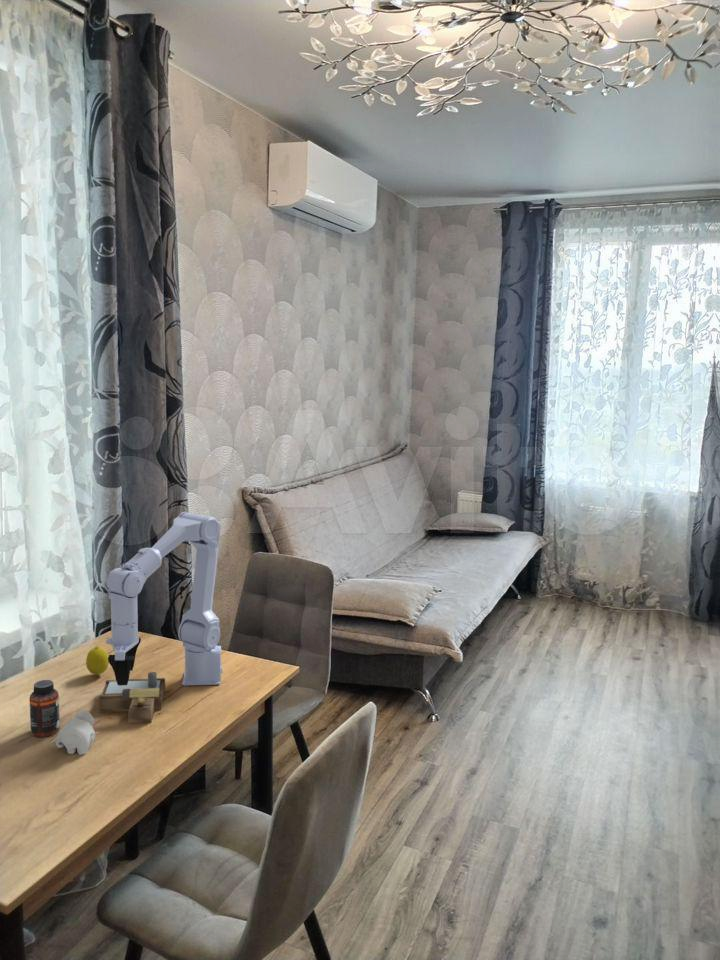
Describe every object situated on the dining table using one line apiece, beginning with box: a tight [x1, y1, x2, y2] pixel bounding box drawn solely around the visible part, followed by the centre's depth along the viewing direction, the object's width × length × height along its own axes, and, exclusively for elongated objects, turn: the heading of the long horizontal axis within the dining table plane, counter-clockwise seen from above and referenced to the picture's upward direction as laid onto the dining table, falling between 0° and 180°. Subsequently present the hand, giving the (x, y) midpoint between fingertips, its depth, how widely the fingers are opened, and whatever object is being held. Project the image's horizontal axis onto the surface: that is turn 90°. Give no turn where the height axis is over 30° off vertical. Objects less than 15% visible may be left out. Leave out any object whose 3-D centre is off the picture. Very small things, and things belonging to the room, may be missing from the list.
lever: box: [122, 688, 160, 706], centre depth 169 cm, size 8×2×4 cm, turn 99°
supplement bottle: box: [29, 679, 61, 738], centre depth 162 cm, size 6×6×11 cm
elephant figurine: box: [49, 710, 98, 756], centre depth 155 cm, size 8×10×7 cm
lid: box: [105, 671, 160, 695], centre depth 177 cm, size 12×6×4 cm, turn 99°
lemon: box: [85, 646, 110, 677], centre depth 190 cm, size 6×6×8 cm
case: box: [98, 677, 166, 724], centre depth 175 cm, size 14×16×4 cm
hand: (125, 677), depth 168 cm, fingers open, 7 cm apart
